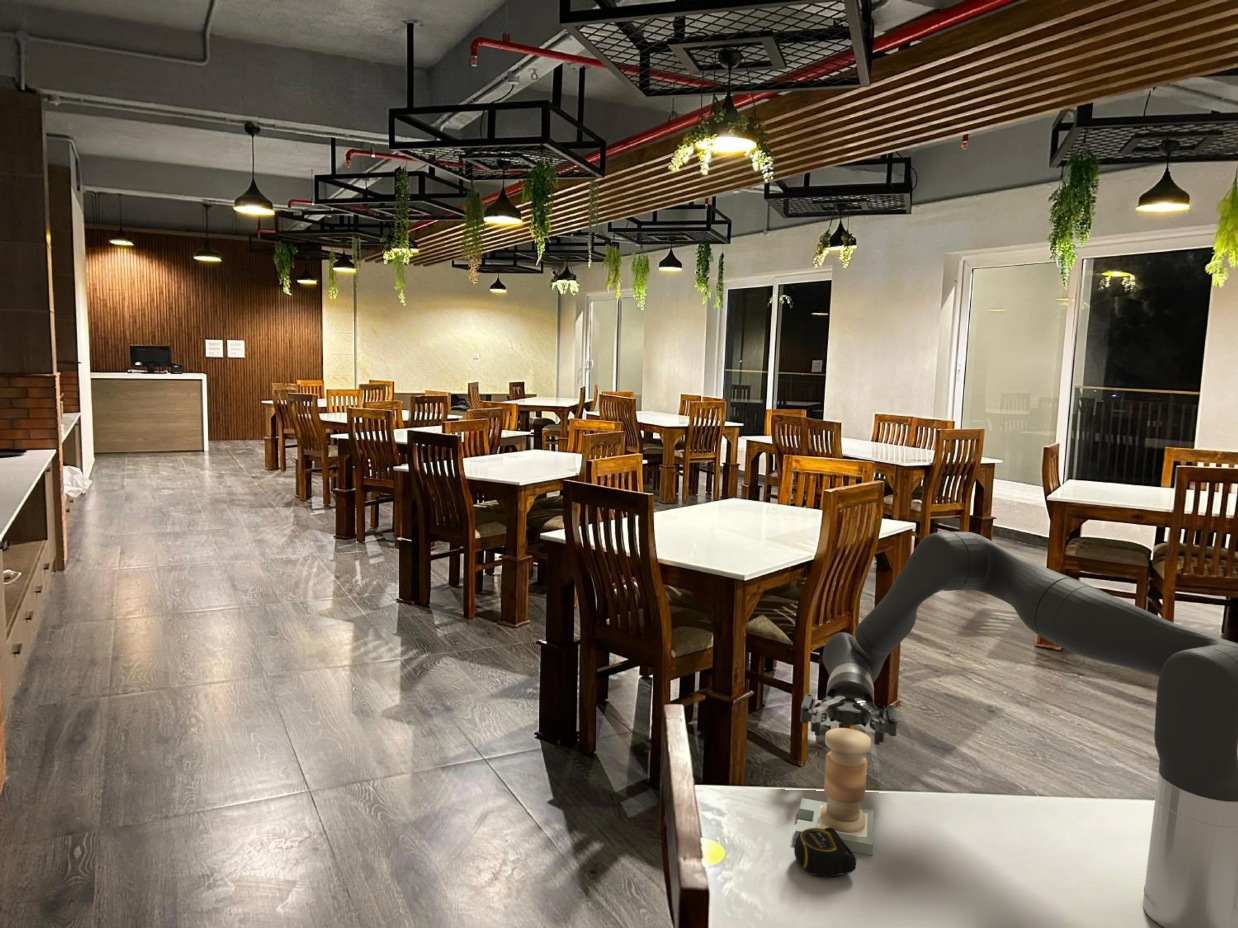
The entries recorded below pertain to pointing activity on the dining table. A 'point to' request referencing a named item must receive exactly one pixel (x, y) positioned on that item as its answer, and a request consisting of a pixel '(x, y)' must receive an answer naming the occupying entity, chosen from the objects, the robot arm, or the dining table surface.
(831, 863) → the tape measure
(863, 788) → the bobbin
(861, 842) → the plate
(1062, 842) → the dining table surface
